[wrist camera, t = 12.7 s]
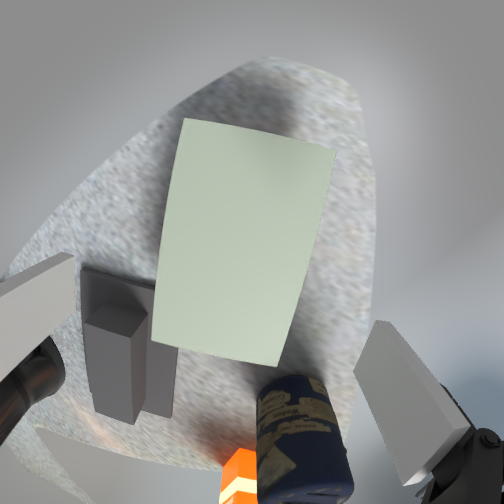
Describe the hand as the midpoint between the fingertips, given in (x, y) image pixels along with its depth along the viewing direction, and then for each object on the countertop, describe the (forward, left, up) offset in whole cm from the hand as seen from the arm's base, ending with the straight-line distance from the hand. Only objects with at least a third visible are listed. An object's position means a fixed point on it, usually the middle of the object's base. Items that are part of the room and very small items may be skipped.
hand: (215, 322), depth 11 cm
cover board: (0, 0, -13) cm, 13 cm away
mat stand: (-11, -18, -19) cm, 28 cm away
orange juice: (+10, -38, -19) cm, 44 cm away
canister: (+11, -20, -19) cm, 30 cm away
